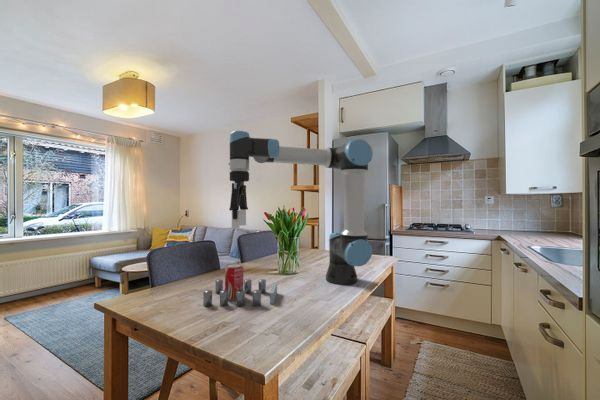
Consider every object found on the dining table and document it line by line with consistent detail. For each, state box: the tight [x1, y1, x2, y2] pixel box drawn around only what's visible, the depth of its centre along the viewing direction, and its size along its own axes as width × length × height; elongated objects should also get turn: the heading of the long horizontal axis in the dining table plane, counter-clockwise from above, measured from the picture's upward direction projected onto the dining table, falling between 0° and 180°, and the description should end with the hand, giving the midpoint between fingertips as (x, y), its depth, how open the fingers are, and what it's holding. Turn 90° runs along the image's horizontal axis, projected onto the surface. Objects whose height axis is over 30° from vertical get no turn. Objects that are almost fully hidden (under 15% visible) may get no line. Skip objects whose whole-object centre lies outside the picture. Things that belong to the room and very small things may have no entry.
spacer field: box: [202, 278, 267, 308], centre depth 106 cm, size 21×17×5 cm
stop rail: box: [269, 283, 278, 305], centre depth 106 cm, size 2×12×4 cm, turn 0°
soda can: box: [224, 262, 244, 302], centre depth 106 cm, size 7×7×13 cm
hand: (239, 226), depth 106 cm, fingers open, 11 cm apart
